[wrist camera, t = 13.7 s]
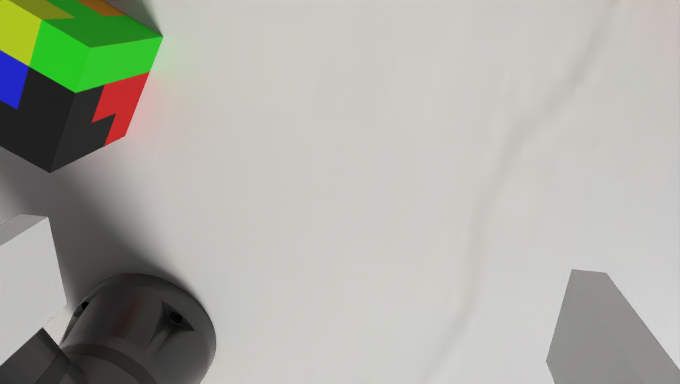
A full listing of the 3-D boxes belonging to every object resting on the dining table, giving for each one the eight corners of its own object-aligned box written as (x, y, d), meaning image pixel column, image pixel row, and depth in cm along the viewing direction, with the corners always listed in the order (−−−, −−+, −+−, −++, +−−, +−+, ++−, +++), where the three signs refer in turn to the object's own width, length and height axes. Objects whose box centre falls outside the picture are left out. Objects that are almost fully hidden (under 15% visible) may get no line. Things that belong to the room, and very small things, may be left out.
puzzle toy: (24, 78, 41) (-83, 100, 32) (53, -30, 38) (-59, -39, 28) (125, 135, 42) (49, 173, 33) (163, 36, 39) (90, 47, 29)
